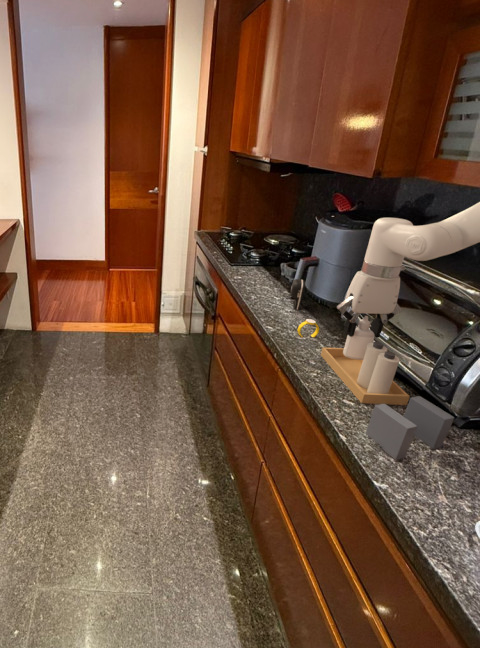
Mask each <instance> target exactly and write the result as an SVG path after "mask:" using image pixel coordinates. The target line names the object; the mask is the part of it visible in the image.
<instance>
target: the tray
mask: <svg viewBox="0 0 480 648" xmlns="http://www.w3.org/2000/svg"><path fill="white" fill-rule="evenodd" d="M343 350H344V347H322V348H321V353H320V356H321V358H322V359H323V360H324V361H325V362H326V363H327V365H328V366H329V367H330V368H331V369H332V371H334V373H335V374H336V375H337V376H338V377H339V378H340V379H341V381H342V382H343V383H344V385H345V386H346V387H347V388H348V389H349V391H351V393H352V394H353V395H354V396H355V397H356V399H357V400H358V401H359V402H360V403H361V404H373V405H379V404H386V405H393V406H408V403H409V401H410V398H411V397H410V395H409V394H408V393H407V392H406V391H405V389H403V388H402V387H401V386H400V385H399V384H397V383H396V381H394V380H393V381H392V384H391V387H390V390H389V393H388V394H377V393H367V390H368V389H366V388H363V387H361V386H360V385H358V384H357V379H358V376H359V372H360V369H361V366H362V362H363V360H356V359H351V358H347V357H345V355H344V354H343Z"/></svg>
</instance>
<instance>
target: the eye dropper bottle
mask: <svg viewBox="0 0 480 648" xmlns="http://www.w3.org/2000/svg"><path fill="white" fill-rule="evenodd" d="M371 324H372V322H371V321H370V320H369V316H368V315H364V317H363V318H362V319H359V321H358V324H357V326H356V329H355V332H354V336H353V337H350V336H349V335H348V334H347V336H346V339H345V343H344V347H343V348H344V350H343V354H344V355H345V357H347V358H351V359H356V360H363V359H364V356H365V353H366V349H367V346H368V344H369V343H374V340H375V338H376V337H375V334H374V333H373V332H372V331H371V330H370V328H371Z"/></svg>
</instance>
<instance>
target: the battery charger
mask: <svg viewBox="0 0 480 648" xmlns="http://www.w3.org/2000/svg"><path fill="white" fill-rule="evenodd" d="M305 287H306V281H305V280H304V279H300V278H295V279H293V281H292V283H291V286H290V297H291V298H293V303H292V304H293V310H298V311H300V310H301V307H302V303H303V297H304V293H305ZM289 312H290V313H292V314H294V312H293V311H291V310H289Z"/></svg>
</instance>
